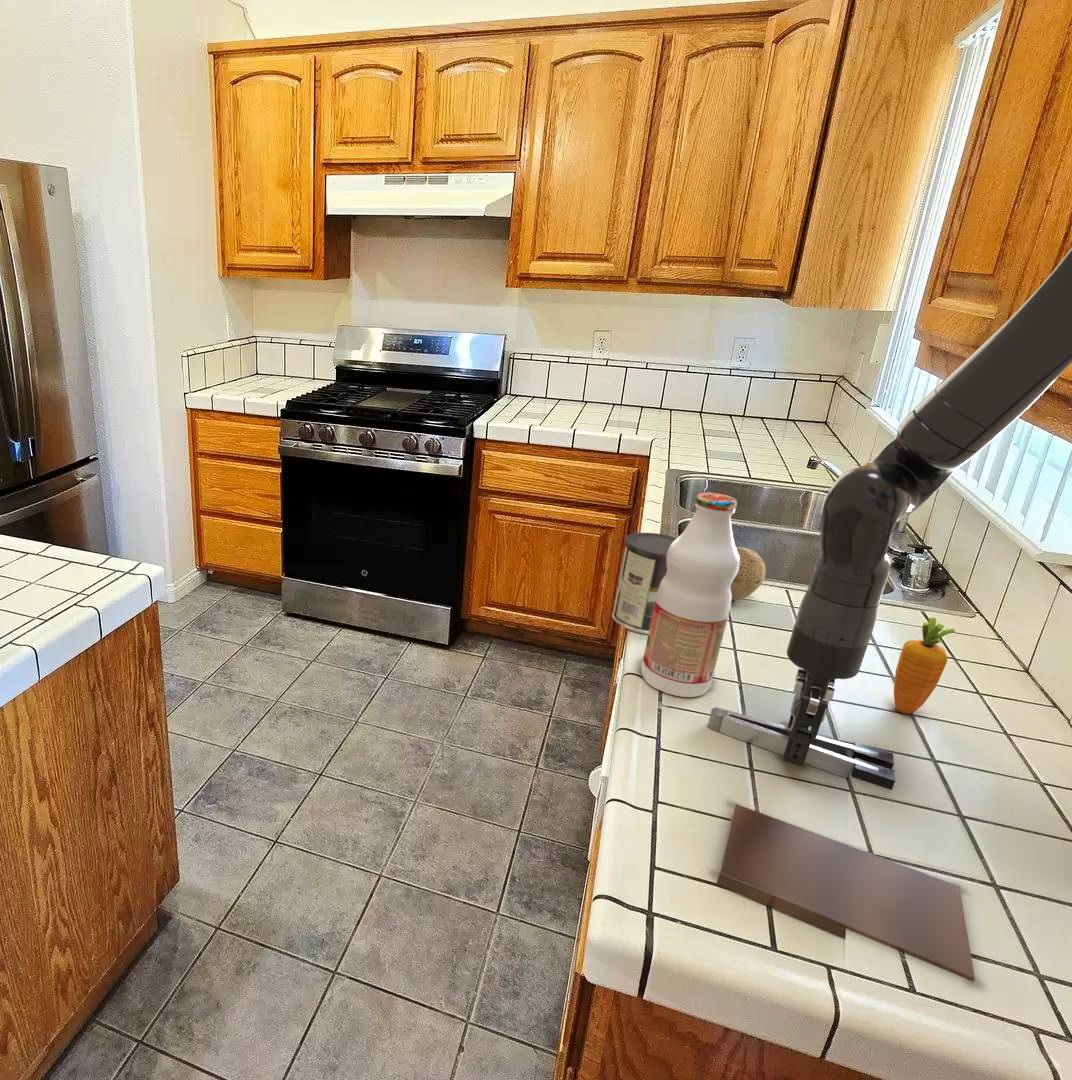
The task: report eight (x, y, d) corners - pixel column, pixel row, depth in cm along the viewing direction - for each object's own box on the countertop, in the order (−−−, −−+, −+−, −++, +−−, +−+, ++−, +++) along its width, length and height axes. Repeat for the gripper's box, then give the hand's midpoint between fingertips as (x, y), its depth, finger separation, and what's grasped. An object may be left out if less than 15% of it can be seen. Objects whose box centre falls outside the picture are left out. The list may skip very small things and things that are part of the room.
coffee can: (679, 617, 129) (697, 540, 124) (671, 641, 120) (689, 560, 115) (617, 601, 133) (632, 527, 128) (605, 624, 125) (620, 545, 120)
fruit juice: (660, 700, 104) (704, 509, 94) (628, 665, 113) (665, 486, 102) (723, 697, 105) (773, 509, 95) (686, 663, 114) (728, 486, 104)
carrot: (888, 703, 106) (922, 607, 101) (928, 720, 103) (966, 622, 97) (873, 714, 103) (908, 616, 98) (914, 732, 100) (953, 632, 94)
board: (954, 897, 74) (959, 885, 73) (969, 991, 64) (975, 978, 64) (732, 814, 83) (735, 803, 83) (716, 884, 74) (719, 872, 73)
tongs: (887, 769, 92) (893, 753, 91) (888, 797, 87) (895, 781, 86) (711, 713, 102) (715, 698, 101) (704, 736, 97) (708, 720, 96)
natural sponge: (728, 612, 131) (741, 560, 128) (691, 591, 139) (703, 541, 135) (768, 607, 134) (782, 555, 130) (729, 586, 142) (742, 537, 138)
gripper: (870, 665, 81) (827, 789, 87) (868, 615, 92) (830, 729, 98) (791, 643, 84) (755, 765, 90) (799, 599, 96) (766, 709, 102)
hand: (794, 745), depth 94 cm, fingers open, 7 cm apart
